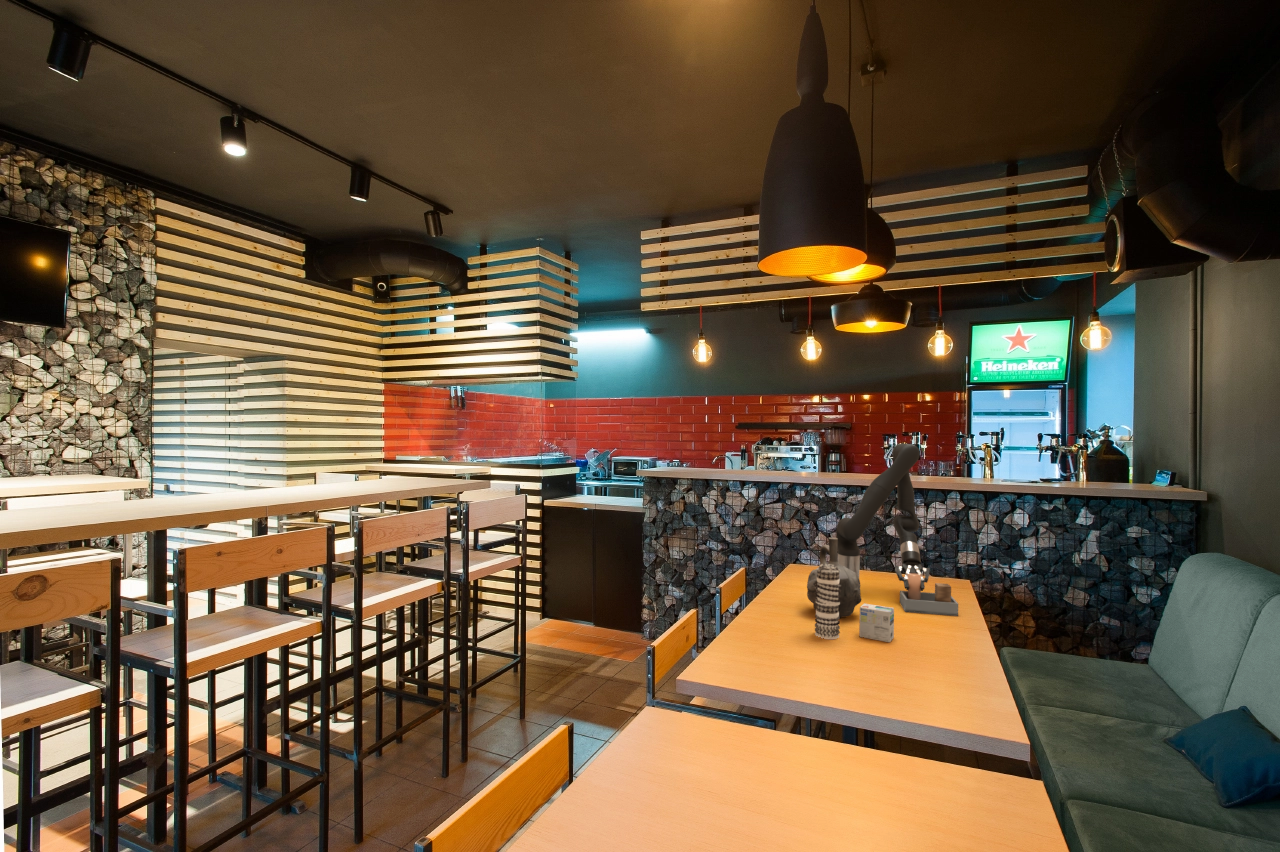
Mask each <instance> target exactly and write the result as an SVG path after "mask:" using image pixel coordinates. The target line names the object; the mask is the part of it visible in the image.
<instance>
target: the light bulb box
mask: <svg viewBox="0 0 1280 852" xmlns="http://www.w3.org/2000/svg"><path fill="white" fill-rule="evenodd" d="M858 634H859V635H858V636H860V637H859V638H863V637H864V638H865V639H871V640H874V641H881V642H886V643H891V641H893V639H894V638H895V636H894V635H895V608H894V607H890V606H882V605H877V604H876V605H875V604H869V603H865V602H864V603H863V604H862V605H861V606H859V633H858ZM864 638H863V639H864Z"/></svg>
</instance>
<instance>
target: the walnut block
mask: <svg viewBox="0 0 1280 852" xmlns="http://www.w3.org/2000/svg"><path fill="white" fill-rule="evenodd" d="M934 593H935V601H937V602H950V603H951V596H952V586H951V585H950V584H949V583H943V582H942V583H941V582H934Z"/></svg>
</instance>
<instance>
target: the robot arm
mask: <svg viewBox="0 0 1280 852" xmlns="http://www.w3.org/2000/svg"><path fill="white" fill-rule="evenodd" d="M891 454H892V460H893V462H892V464H891V465H890V466H889V467H888V468H887V469H886V470H884V471H883V472H882V473H880V474H879V475H878V476H876V477H875V478H874V479H873V480H872V482H871V483H870V484H869V486H868V487H867V488H866V490H865V492H864V493H863V496H862V499H861V502H860V505H859V507H858V509H857V510H856V511H855V513H854V514H853V516H852V517H844V518H841V519H840V520H839V521H838V522H837V524H836V535H835V536H836V537H835V538H838V546H837V561H838V563H839V565H841V566H844V567H846V568H848V569H849V570H851V571H853V572H855V573H856V574H857V576H858V577H859V578H860V566H861V565H860V559H861V558H860V554H861V550H860V548H859V545H858V540H859V539H860V537H862V536H863V534H864V532H865V531H866V530H867V527H868V526H869V524H870V522H871V520H872V519H873V517H874V516H875V515H876V514H877V512H878V511H879V510H880V509H881V507H882V506H883V505H884V504H885V502H886V500H887V499H888V498H889V496H890V495H891V494H892V493H893V491H894V490H895V488H896V487H897V489H896V491H897V496H896V497H897V498H896V499H897V509H898V510H899V511H902V512H907V513H909V515H897V516H895V517H894V519H893V527H894V530H895V532H896V534H897V536H898V538H899V546H900V557H901V566H899V565H896V566H895V567H894V568H895V569H894V571H895V573H896V576H897V578H898V581H899V582H901V581H902V582H903V586H904V589H906V590H905V591H908V589H909V585H908V573H917V574H920V575H921V592H924V590H925V588H926V587H925V583H926V584H927V583H928V581H929V577H930V570H931V568H930V567H927V568H926V567H923V565H922V561H921V560H922V559H921V554H920V549H919V545H918V538H917V535H916V534H915V532H917V531H919V528H920V522H919V519H918V516H917V513H916V508H915V507H916V506H915V492H914V490H915V489H914V485H913V483H912V480H911V475H910V469H912V468H913V467H914V466H915V465H916V463H918V460H919V459H920V448H919V447H918V446H917V445H915V444H912V443H898V444H896V445H895V446H894V447H893V450H892V453H891ZM902 571H903V572H904V573H905V575H904V576H903V575H902ZM922 572H923V574H924V577H923V574H922Z"/></svg>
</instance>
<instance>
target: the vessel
mask: <svg viewBox="0 0 1280 852" xmlns="http://www.w3.org/2000/svg"><path fill="white" fill-rule="evenodd" d="M837 546H838V538H836V537H828V544H823V545H822V546H821V548H820V551H819V566H820V565H821V564H832V565H835V566H837V568H838V569H839V570H840V571H839V579H840V582H839V584H840V585H841V587H840V588H838V589H840V590H841V592H839V593H838V594H839V595H840V596H841V597H840V598H839V599H840V600H841V601H840V605H839V609H838V611H839V617H840V618H845V617H849V616H851V615H853V613H854V611H855V608H856V606H858V605H859V604H861V602H862V596H861V580H860V576H859V577H858V576H857V574H856V573H855V572H853V571H851V570H849V569H848V568H846V567H844V566H841V565H839V563H838V548H837ZM827 554H828V555H829V560H828V561H827ZM819 566H818V567H817V568H819ZM817 568H816V569H812V570H811V571H810V573H809V575H808V578H807V583H806V584H807V585H806V587H807V593H806V595H807V599H808V600H809V602H811V603H812V604H813V610H814V611H815V612H816V609H817V603H816V600H815V598H816V597H817V596H816V595H815V592H816V591H815V588H816V586H815V582H816V581H817ZM817 585H818V584H817Z"/></svg>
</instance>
